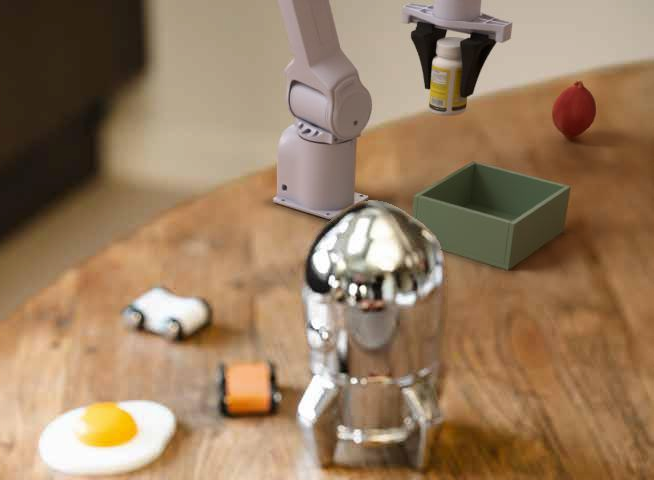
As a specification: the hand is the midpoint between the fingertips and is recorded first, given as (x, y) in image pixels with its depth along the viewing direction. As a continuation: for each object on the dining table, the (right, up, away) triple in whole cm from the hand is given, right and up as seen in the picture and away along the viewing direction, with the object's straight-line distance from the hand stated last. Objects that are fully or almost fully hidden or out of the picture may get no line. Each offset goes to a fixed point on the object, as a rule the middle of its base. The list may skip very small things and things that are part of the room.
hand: (449, 91), depth 153 cm
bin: (+3, -21, -10) cm, 24 cm away
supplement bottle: (0, -2, +2) cm, 3 cm away
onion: (+19, -1, +13) cm, 23 cm away
